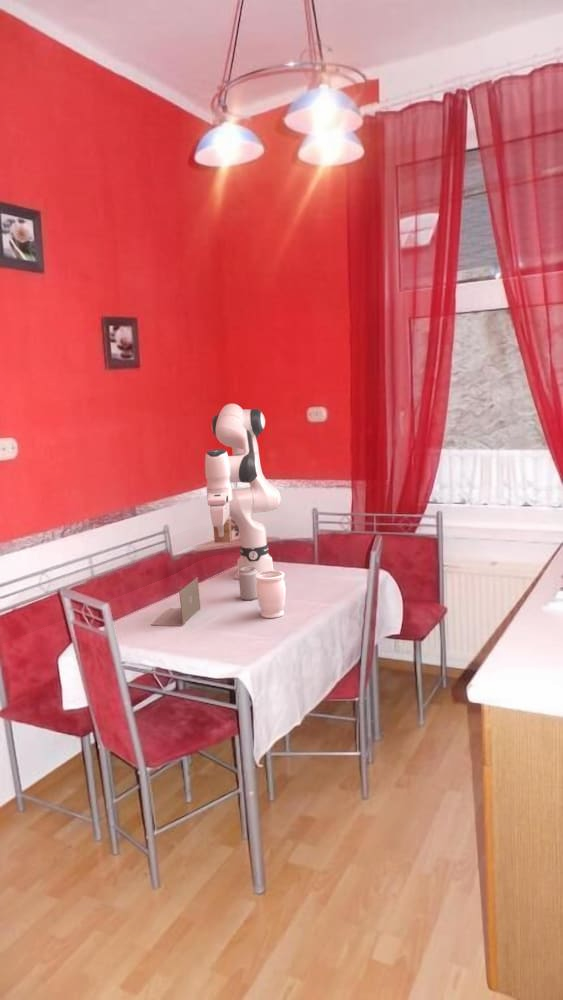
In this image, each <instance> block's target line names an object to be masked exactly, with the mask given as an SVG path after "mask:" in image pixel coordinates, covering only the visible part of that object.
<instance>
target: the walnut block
mask: <svg viewBox="0 0 563 1000" xmlns="http://www.w3.org/2000/svg"><path fill="white" fill-rule="evenodd" d="M231 522H232V521H231V518H228V519H227V520H226V522H225V524H224V527H223V528H224V536H223V537H219V533H218V529H217V527H214V526H213V525H212V527H213V538H214V543H216V544H217V543H230V542H231V541H232V538H233V535H232V533H233V532H232V523H231Z"/></svg>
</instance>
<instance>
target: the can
mask: <svg viewBox="0 0 563 1000" xmlns="http://www.w3.org/2000/svg"><path fill="white" fill-rule="evenodd" d="M240 570H241V571H240V572H239V579H238V581H239V583H238V584H239V593H240V594H239V596H240V598H241V599H242V600H243V601H254V600H258V597H257V579H256V575H257V574H258V571H257V570H256V568H255V567H244V568H241V569H240Z"/></svg>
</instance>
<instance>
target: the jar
mask: <svg viewBox="0 0 563 1000" xmlns="http://www.w3.org/2000/svg"><path fill="white" fill-rule="evenodd" d="M284 578H285V572H283V571H280V570H276V571H265V572H261V573H258V574H257V575H256V579H257V597H258V598H257V600H258V605H259V608H260V610H261V611H262V612H261V613H260V616H261V617H263V618H265V619H276V618H280V617H282V616H284V615H285V611H284V608H285V605H286V604H285V603H286V593H287V592H286V583H285V579H284Z"/></svg>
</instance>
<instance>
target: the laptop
mask: <svg viewBox="0 0 563 1000" xmlns="http://www.w3.org/2000/svg"><path fill="white" fill-rule="evenodd" d="M199 587H200V586H199V577H198V576H197V577H195V578H194V579H193V580H192V581H190V583H188V584H187V585H186V586H184V587H183V588H182V589H181V590H180V591H179V603H180V607H178V608H177V607H169V608H168V609H167V610H165V611H164V612H163V613H162V614H161V615H160V616H159V617H157V618H156V619H155V620H154V621H152V623H150V625H151V626H161V627H162V626H163V627H184V626H185V625H186V624H187V623H188V622H189V621H190V620H192V619H193V618H194V617H195V616H196V615H197V614H198V613H199V612H200V611H201V601H200V600H201V598H200V589H199Z"/></svg>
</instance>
